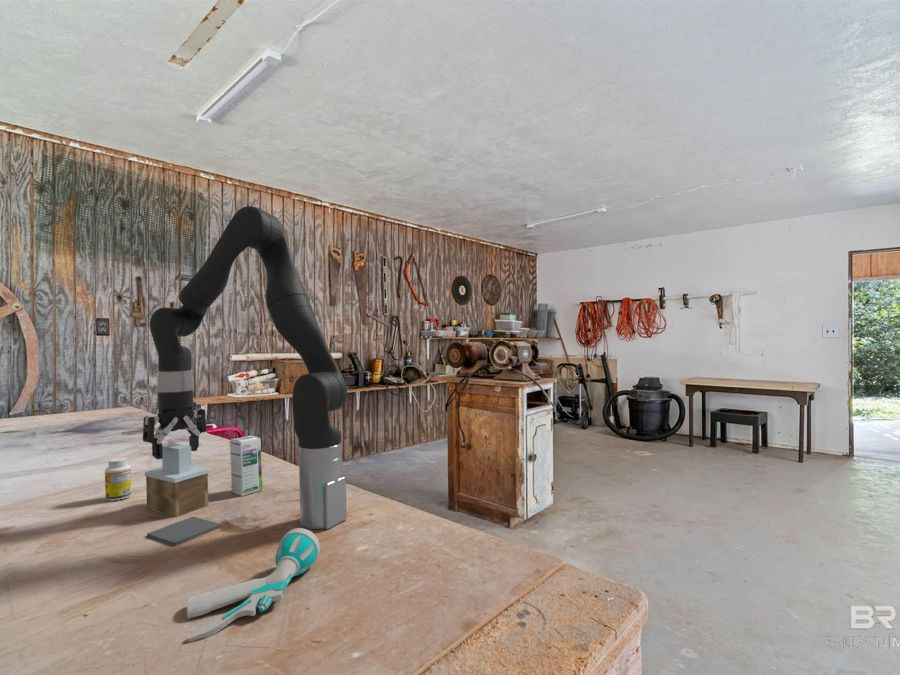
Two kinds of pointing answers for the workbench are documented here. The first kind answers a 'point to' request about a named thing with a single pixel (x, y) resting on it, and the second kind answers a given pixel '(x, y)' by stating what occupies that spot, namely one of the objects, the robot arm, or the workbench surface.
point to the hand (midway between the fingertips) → (176, 454)
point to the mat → (183, 530)
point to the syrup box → (246, 465)
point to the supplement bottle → (118, 479)
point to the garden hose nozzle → (257, 584)
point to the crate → (177, 495)
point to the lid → (176, 465)
